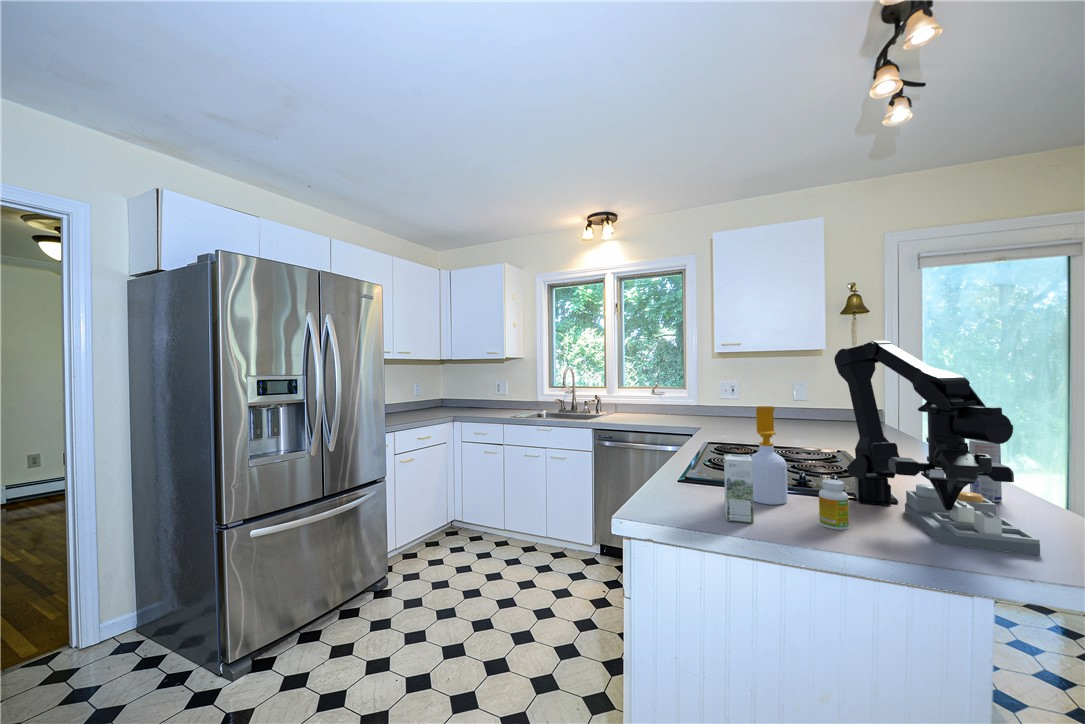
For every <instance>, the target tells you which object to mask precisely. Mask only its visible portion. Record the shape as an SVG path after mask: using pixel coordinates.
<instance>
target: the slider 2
mask: <svg viewBox="0 0 1085 724" xmlns="http://www.w3.org/2000/svg"><path fill="white" fill-rule="evenodd" d="M1000 518H1001V517H999V516H997V515H996V516H995V515H994V514H992V513H991V512H986V511H985V510H981V512H980V511H974V529H975V530H977V531H978V532H980V533H985V534H995V535H1002V519H1000Z"/></svg>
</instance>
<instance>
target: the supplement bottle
mask: <svg viewBox="0 0 1085 724" xmlns="http://www.w3.org/2000/svg"><path fill="white" fill-rule="evenodd" d="M821 482H822V483H821V487H822V488H821V490H820V489H819V492H818V511H819V512H818V515H819V516H818V517H819V518H818V519H819V524H820V525H821V526H822V527H824V528H827V529H830V530H837V531H845V530H847V529H849V528H850V527H849V526H850V516H849V513H850V512H849V511H850V510H849V508H850V507H849V495H848V494H847V492H845V491H844V489H845V483H844V482H843V480H838V479H828V478H825V479H822V480H821Z"/></svg>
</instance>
